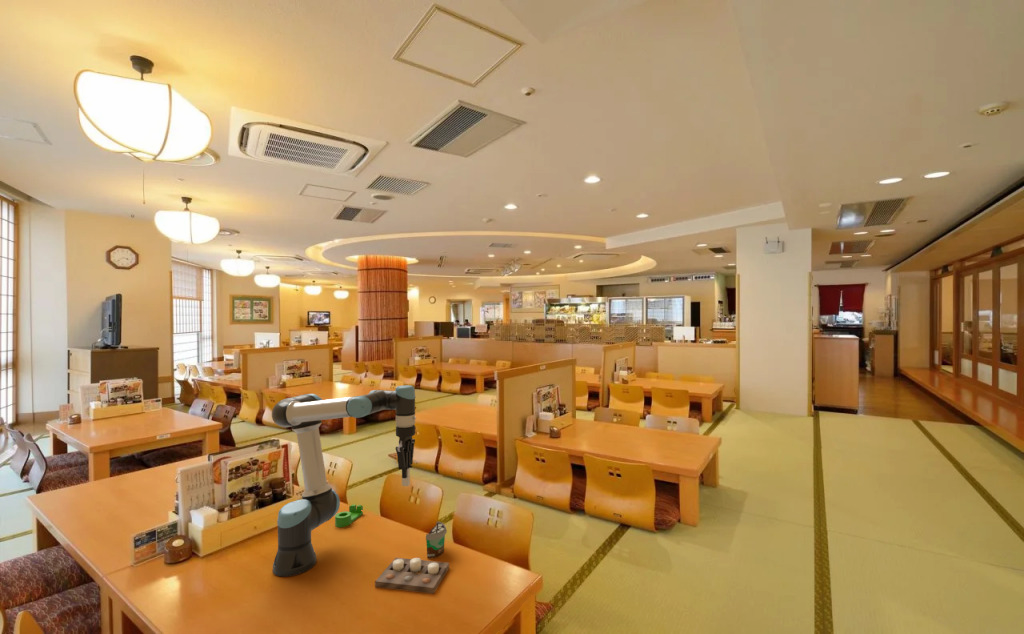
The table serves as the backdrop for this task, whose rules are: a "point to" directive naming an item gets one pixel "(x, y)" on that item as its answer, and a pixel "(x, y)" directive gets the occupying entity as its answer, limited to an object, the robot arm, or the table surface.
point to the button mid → (415, 565)
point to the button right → (433, 568)
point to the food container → (436, 540)
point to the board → (412, 577)
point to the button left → (398, 565)
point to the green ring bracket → (348, 516)
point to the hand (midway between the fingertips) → (405, 485)
